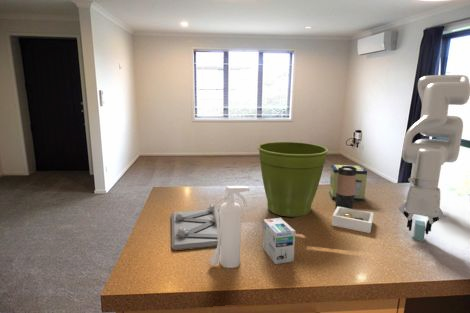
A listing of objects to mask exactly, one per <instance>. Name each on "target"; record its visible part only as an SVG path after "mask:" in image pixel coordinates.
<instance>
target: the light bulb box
mask: <svg viewBox="0 0 470 313" xmlns="http://www.w3.org/2000/svg"><path fill="white" fill-rule="evenodd" d="M262 242H263V245H262V248H263V249H264V251H265V252H266V254H267V255H268V257H269V258H270V259H271V261H272V262H273V263H274V264H275V265H279V264H285V263H286V264H287V263H293V262H294V261H295V243H296V230H295V229H294V228H293V227H292V226H291V225H289V224H288V223H287V222H286V221H285V220H284V219H283V218H282V217H277V218H276V217H274V218H264V219H263V241H262Z"/></svg>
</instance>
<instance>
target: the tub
mask: <svg viewBox="0 0 470 313" xmlns="http://www.w3.org/2000/svg"><path fill="white" fill-rule="evenodd" d="M344 213H351V214H352V218H347V217H344ZM374 214H375V213H374V212H372V211H366V210H360V209H354V208H353V209H349V208H344V207H338V206H337V208H336V209H335V210H334V212H333V214H332V216H331V226H334V227H339V228H344V229H348V230H353V231H358V232H362V233H368V234H371V231H372V228H373V220H374ZM355 217H357V218H363V220H364V221H363V220H358V219H355Z"/></svg>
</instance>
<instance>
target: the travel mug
mask: <svg viewBox="0 0 470 313" xmlns="http://www.w3.org/2000/svg"><path fill="white" fill-rule="evenodd" d="M356 171H357V169H356V168H354V167H350V166H342V167H341V168H338V178H337V189H336V200H335V207H334V208H335V210H336V208H337V206H338V207H344V208H349V209H354V202H355V201H354V194H355V183H356Z"/></svg>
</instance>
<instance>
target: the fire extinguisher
mask: <svg viewBox="0 0 470 313" xmlns="http://www.w3.org/2000/svg"><path fill="white" fill-rule="evenodd" d="M244 192H250V186H249V187H248V186H247V185H226V187H225V192H224V193H226V195H224V196H221V197H219V198H218V199H217V200H216V201H215V203H214V204H215V208H214V212H215V216H216V223H217V238H218V245H217V246H216V248H215V250H213V253H212V256H210V259H209V261H208V263H209V264H211V265H214V266H215V265H218V264H219V265H221V266H222V267H223V268H226V269H233V268H238V266H239V265H240V264H241V229H242V228H241V226H242V224H241V223H242V222H241V221H242V219H241V218H242V215H241V214H242V209H241V205H240V204H239V203H237V202H235V195H236V196H238V198H239V199H240V202H241V204H242V206H244V207H245V206H247V205H248V203H247V201H246V198H245V197H244V196H243V195H242V194H241V193H244ZM234 194H235V195H234ZM223 200H226V201H225V202H224V203H222V204H221V205H220V207H219V203H220V202H222V201H223ZM218 208H220V223H219V215H218V211H217V209H218Z"/></svg>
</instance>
